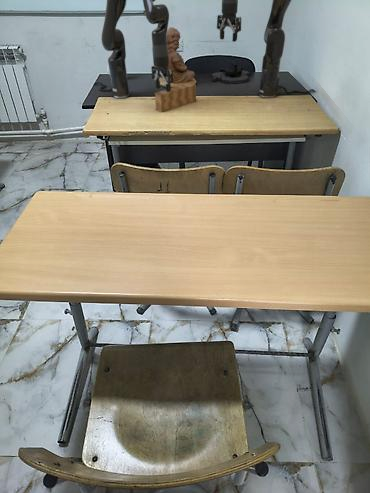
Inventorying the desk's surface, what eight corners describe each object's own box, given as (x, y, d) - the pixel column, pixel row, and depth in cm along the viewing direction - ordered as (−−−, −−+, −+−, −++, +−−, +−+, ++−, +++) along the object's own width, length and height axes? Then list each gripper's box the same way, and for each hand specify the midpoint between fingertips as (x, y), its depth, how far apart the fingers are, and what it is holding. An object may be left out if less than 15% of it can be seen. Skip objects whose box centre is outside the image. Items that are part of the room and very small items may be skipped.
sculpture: (197, 88, 213) (196, 30, 194) (156, 89, 214) (152, 31, 194) (196, 75, 234) (196, 22, 215) (159, 76, 235) (156, 23, 215)
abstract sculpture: (216, 68, 212) (209, 60, 227) (216, 84, 218) (208, 75, 233) (257, 65, 215) (247, 57, 230) (255, 81, 221) (245, 73, 236)
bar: (161, 111, 185) (160, 94, 180) (156, 109, 188) (154, 92, 182) (196, 100, 197) (196, 84, 191) (190, 98, 200) (189, 82, 194)
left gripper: (176, 55, 169) (177, 91, 179) (157, 51, 178) (160, 85, 188) (163, 58, 165) (166, 94, 176) (145, 54, 174) (149, 89, 184)
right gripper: (246, 1, 167) (243, 41, 178) (224, -1, 176) (223, 37, 186) (235, 3, 164) (233, 43, 174) (213, 1, 172) (212, 39, 182)
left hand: (163, 90), depth 182 cm, fingers open, 8 cm apart
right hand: (228, 40), depth 180 cm, fingers open, 8 cm apart
